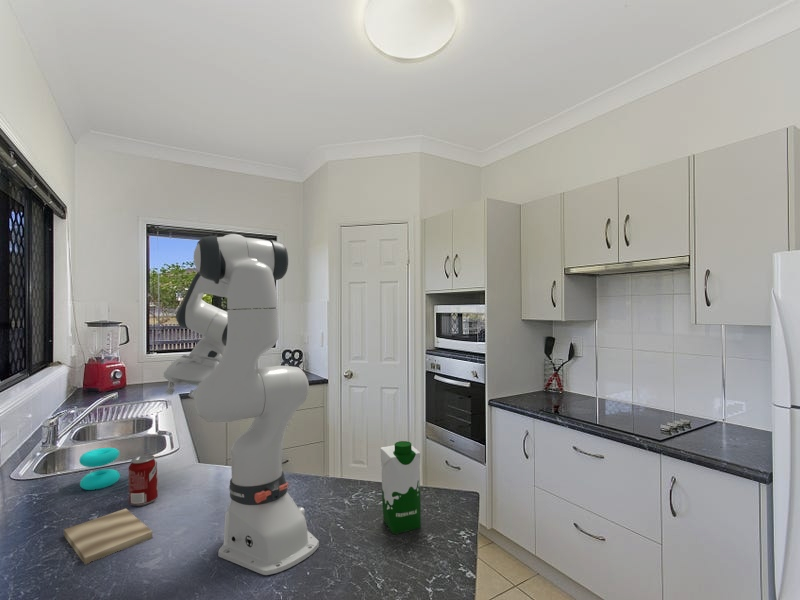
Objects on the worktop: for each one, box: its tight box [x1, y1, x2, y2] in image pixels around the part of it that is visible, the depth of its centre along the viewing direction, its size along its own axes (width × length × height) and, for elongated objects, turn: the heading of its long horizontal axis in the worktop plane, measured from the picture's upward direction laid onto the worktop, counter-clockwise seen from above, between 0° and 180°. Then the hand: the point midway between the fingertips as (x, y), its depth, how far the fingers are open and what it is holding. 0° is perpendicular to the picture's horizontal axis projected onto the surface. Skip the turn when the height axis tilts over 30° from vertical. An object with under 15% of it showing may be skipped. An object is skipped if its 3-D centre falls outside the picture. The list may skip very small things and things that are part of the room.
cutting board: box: [63, 508, 153, 565], centre depth 101 cm, size 18×13×2 cm
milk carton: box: [379, 440, 422, 535], centre depth 103 cm, size 9×9×20 cm
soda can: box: [127, 454, 159, 507], centre depth 118 cm, size 7×7×12 cm
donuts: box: [79, 447, 121, 491], centre depth 131 cm, size 10×10×10 cm
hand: (179, 395), depth 129 cm, fingers open, 8 cm apart
